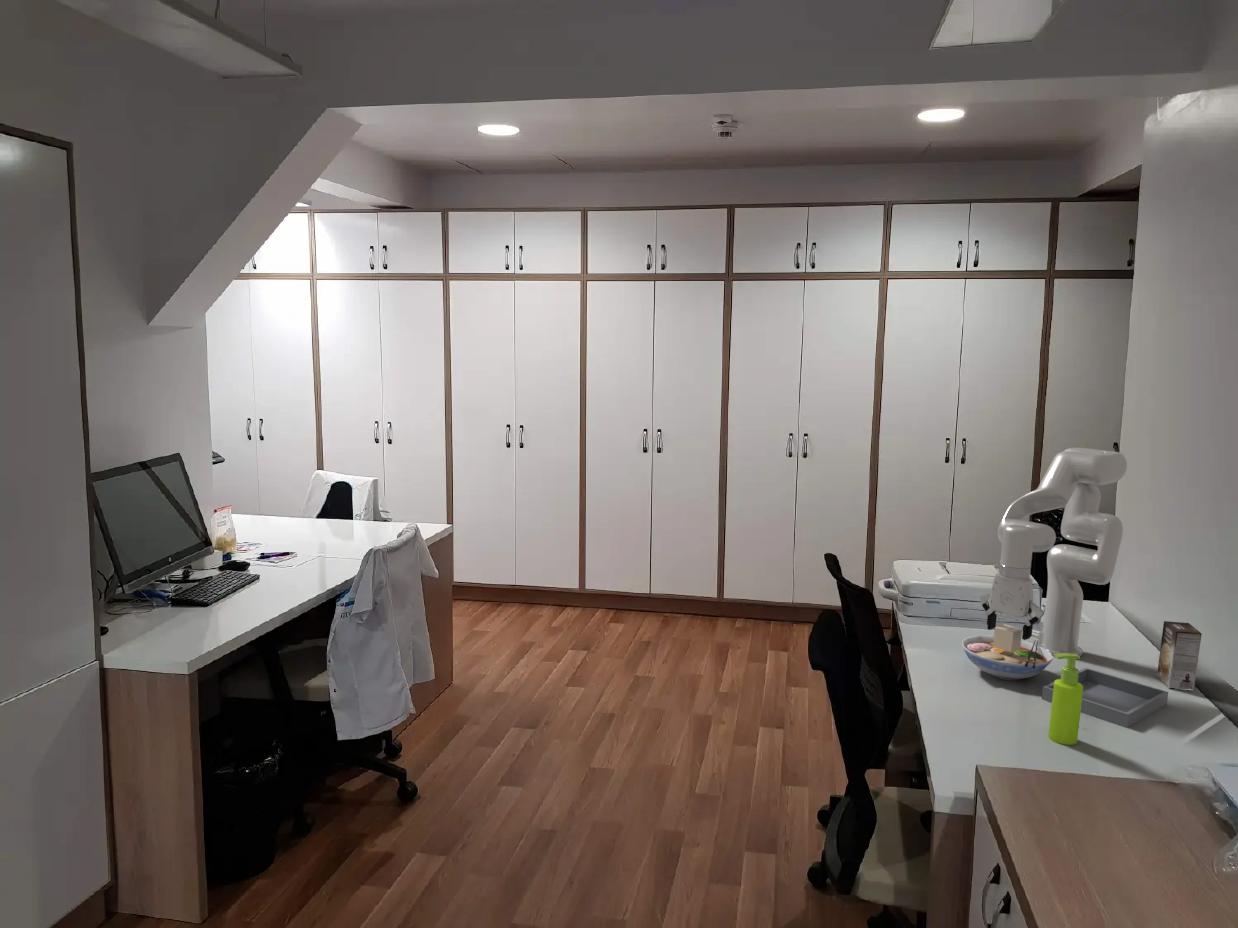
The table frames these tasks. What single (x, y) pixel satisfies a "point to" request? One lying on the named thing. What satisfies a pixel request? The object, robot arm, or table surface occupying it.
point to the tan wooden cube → (1007, 638)
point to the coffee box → (1179, 655)
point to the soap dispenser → (1066, 703)
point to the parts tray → (1114, 697)
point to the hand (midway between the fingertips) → (1008, 633)
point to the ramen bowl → (1006, 658)
